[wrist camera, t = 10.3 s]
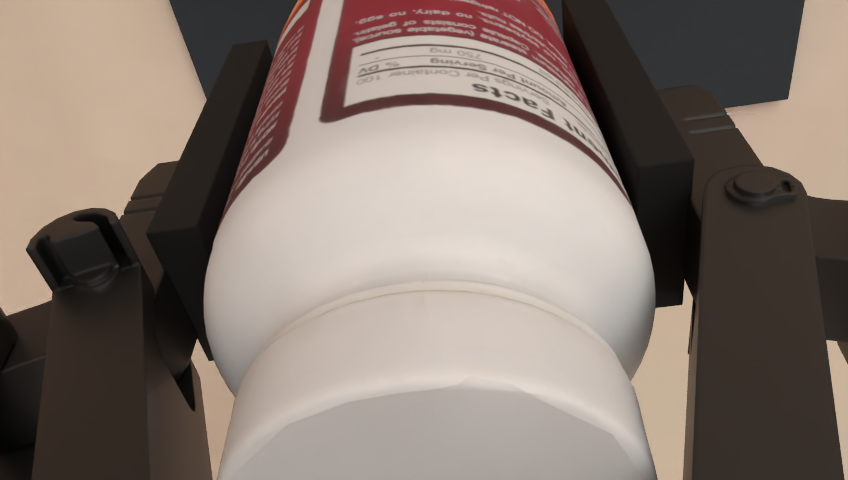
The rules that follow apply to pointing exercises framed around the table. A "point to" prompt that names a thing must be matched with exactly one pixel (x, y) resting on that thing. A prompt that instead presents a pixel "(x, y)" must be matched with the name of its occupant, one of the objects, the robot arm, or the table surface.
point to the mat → (630, 3)
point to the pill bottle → (428, 257)
